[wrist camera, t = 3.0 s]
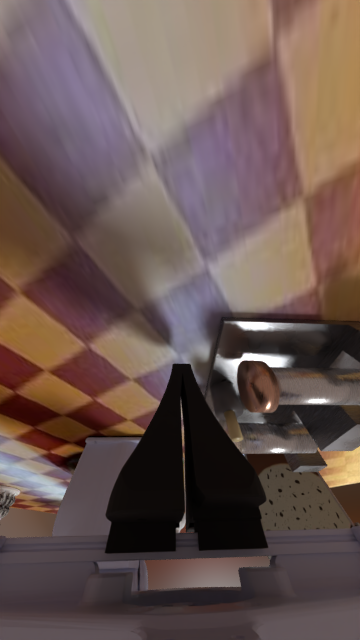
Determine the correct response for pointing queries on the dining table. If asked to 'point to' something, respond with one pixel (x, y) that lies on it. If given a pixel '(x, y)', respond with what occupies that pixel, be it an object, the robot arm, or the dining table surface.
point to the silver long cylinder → (273, 438)
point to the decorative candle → (7, 499)
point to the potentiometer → (227, 407)
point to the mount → (298, 352)
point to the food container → (296, 497)
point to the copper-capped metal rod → (295, 386)
